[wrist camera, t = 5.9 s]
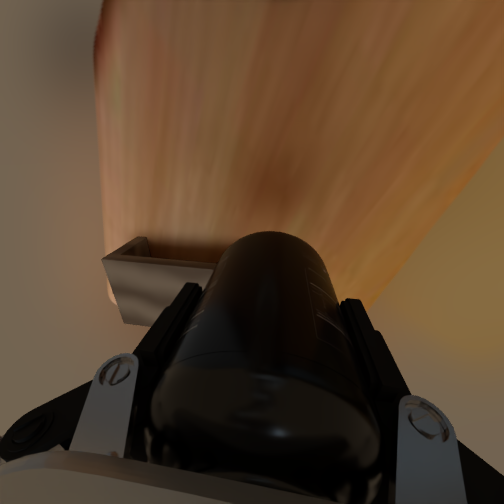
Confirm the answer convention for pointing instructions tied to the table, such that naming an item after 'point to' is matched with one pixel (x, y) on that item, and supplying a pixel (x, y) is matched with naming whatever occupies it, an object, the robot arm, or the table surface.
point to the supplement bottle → (268, 381)
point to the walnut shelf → (149, 280)
